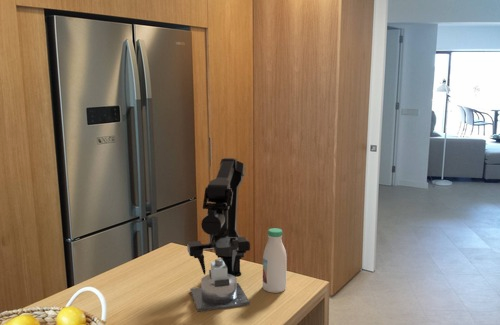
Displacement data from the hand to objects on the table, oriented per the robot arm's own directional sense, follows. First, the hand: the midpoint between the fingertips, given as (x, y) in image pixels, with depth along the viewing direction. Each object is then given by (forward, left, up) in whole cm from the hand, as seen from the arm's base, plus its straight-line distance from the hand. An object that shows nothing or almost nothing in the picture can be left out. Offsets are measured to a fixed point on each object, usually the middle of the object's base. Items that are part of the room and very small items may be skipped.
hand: (219, 272), depth 143 cm
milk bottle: (-19, -2, -9) cm, 21 cm away
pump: (0, 0, -2) cm, 2 cm away
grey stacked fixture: (0, 0, -8) cm, 8 cm away
